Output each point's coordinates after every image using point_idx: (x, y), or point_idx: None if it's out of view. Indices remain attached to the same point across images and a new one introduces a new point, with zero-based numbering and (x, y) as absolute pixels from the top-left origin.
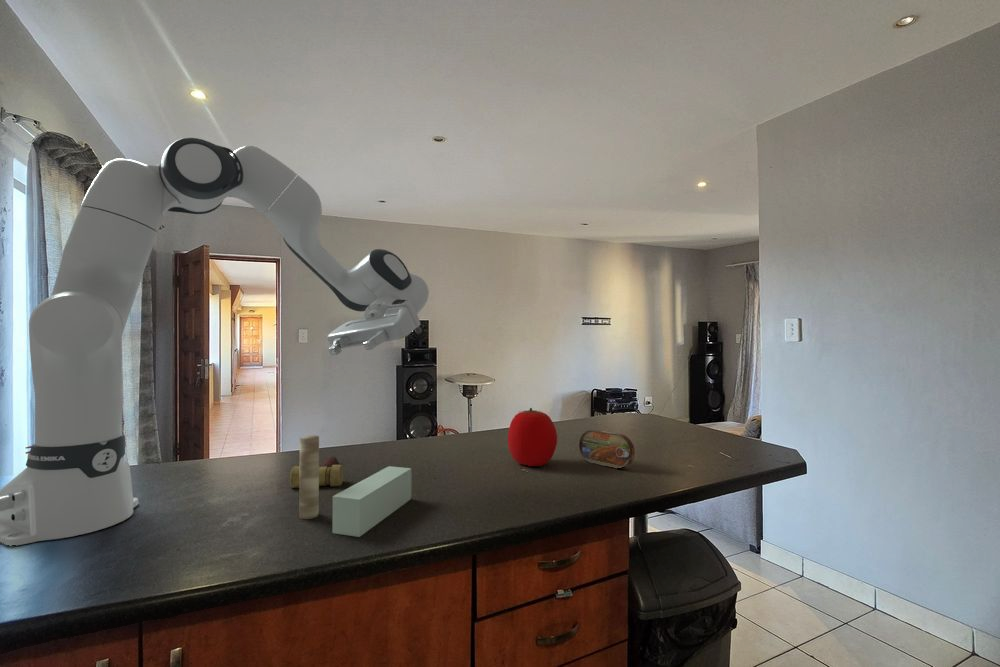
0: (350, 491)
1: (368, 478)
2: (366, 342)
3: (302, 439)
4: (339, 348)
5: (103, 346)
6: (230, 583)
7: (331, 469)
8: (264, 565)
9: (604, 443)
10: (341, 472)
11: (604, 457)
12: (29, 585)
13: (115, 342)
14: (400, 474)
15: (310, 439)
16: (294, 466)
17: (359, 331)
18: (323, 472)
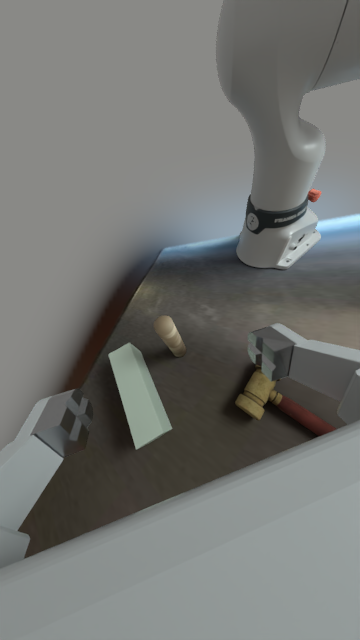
0: (127, 357)
1: (143, 387)
2: (54, 396)
3: (160, 316)
4: (270, 365)
5: (232, 92)
6: (130, 298)
7: (245, 396)
8: (134, 312)
9: None
10: (246, 411)
11: None
12: (188, 247)
13: (255, 82)
14: (128, 421)
15: (154, 322)
16: None
17: (196, 491)
18: (248, 388)
